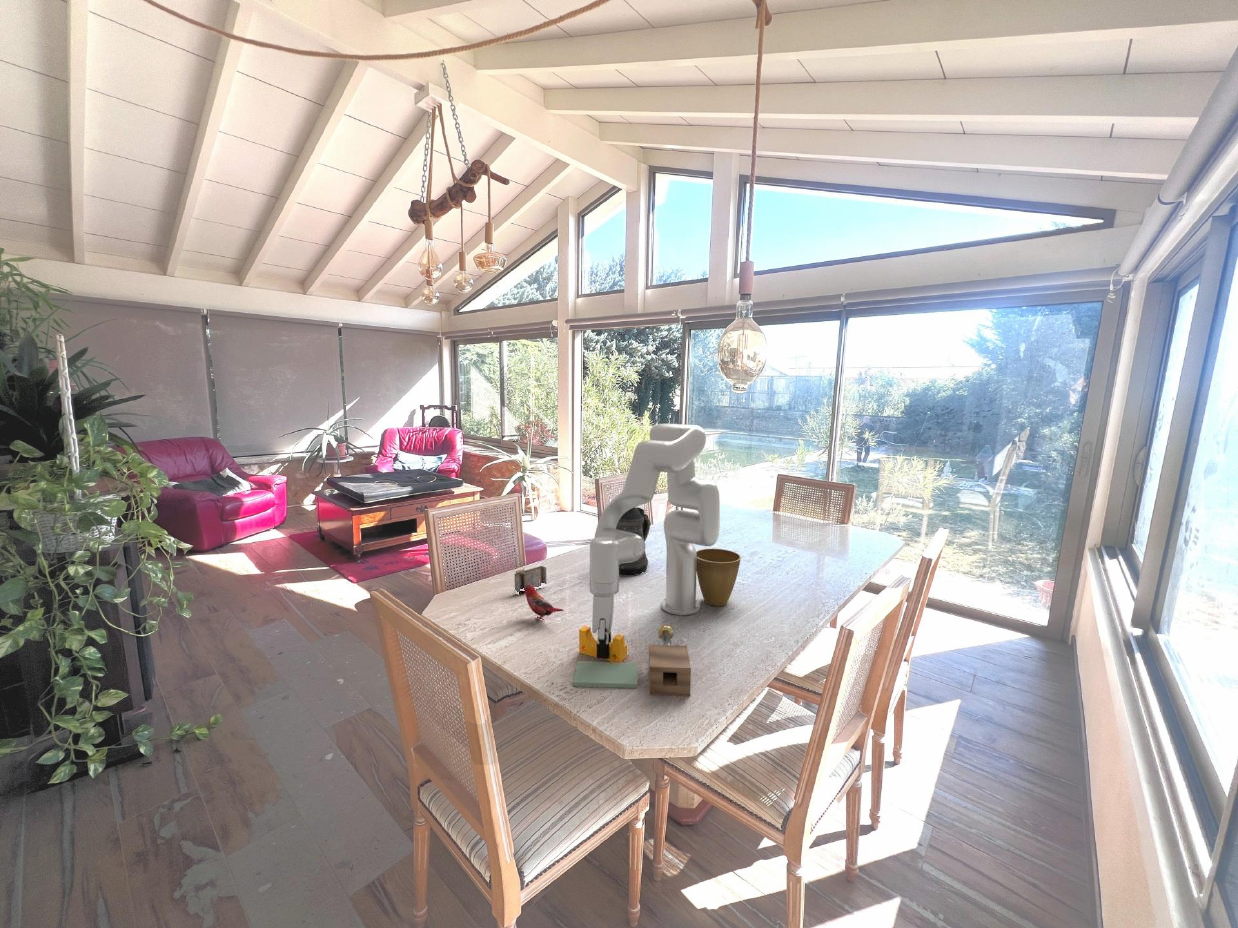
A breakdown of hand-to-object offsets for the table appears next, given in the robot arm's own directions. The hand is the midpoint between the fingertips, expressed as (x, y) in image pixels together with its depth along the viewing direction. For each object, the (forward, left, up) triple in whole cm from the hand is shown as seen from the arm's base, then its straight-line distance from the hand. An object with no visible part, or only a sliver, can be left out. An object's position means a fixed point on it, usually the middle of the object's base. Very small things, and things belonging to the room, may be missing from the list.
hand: (603, 650), depth 128 cm
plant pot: (-35, +34, -1) cm, 49 cm away
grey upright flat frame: (-42, -29, -2) cm, 51 cm away
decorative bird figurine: (-18, -20, -1) cm, 27 cm away
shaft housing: (+12, +16, -1) cm, 20 cm away
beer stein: (-66, +4, -1) cm, 67 cm away
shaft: (+2, +16, +1) cm, 16 cm away
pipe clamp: (0, 0, -1) cm, 2 cm away
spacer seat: (+10, +1, -1) cm, 10 cm away
